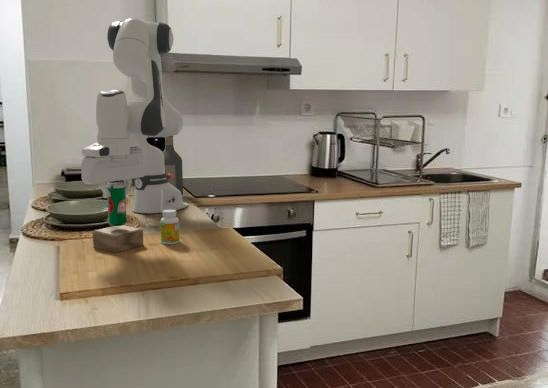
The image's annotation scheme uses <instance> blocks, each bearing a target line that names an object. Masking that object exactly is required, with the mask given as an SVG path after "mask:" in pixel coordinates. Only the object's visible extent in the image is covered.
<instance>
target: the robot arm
mask: <svg viewBox="0 0 548 388" xmlns="http://www.w3.org/2000/svg"><path fill="white" fill-rule="evenodd" d="M106 40H107V43H108V47H109V48H110V49H111V51H112V59H113V63H114V66H115V67H116V68H117V70H118V71H119V72H120V73H122V74H123V75H124V76H126V77H129V78H130V84H131V85H130V87H131V88H130V89H131V91H132V93H133V94H134V95H135V96H136V97H137V98H139V99H141V100H143V101H137V102H136V101H133V102H132V101H127V95H126V93H125V91H123V90H121V89H106V90H102V91H100V92H98V93H97V96H96V104H95V105H96V106H95V119H96V120H95V122H96V126H97V131H98V132H97V136H96V138H97V141H96V142H94V143H92V144H90V145H88V146H86V147H84V148H82V150H81V155H82V156H83V158H82V160H81V168H80V171H81V175H80V176H81V180H82V182H83V183H84V184H85V185H98V187H99V189H100V191H102V198H104V199H108V198H110V197H111V192H110V191H108V189H107V187H108V184H109V183H114V182H118V181H123V182H122V183H124V186H125V189H126V196H127V195H129V194H130V188H131V185H132V183H133V181H134V187H135V189H134V199H133V206H132V209H131V211H132V212H134V213H138V214H163V210H169V209H172V210H176V211H178V210H181V209H186V208H188V207H189V203H187V202H185V201H183V195H182V194H181V192H180V191H179V190H178V189H177V188H175V187H174V186H173V185H171V184H170V183H169V181H168V179H169V178H170V179H172V178H173V176H172V174H169V173H168V174H166V173H165V164H164V154H163V152H164V151H162V150H161V149H160V148H158V147H156V146H154V145H151V144H150V143H148V141H147V139H148V138H165V137H169V136H173V137H174V136H177V135H179V133H180V132H182V130H183V126H184V119H183V116H182V114H181V113H180V111H179V110H178V109H176V108H175V107H173V106H172V105H171V103H170V102H169V100H168V99H167V97H166V94H165V92H164V86H163V74H162V73H163V71H162V70H163V67H162V59H161V57H163V56H164V55H167V54H168V53H170V51H171V50H172V48H173V46H174V34H173V31H172V28H171V27H170V25H169V24H168V23H164V22H155V21H154V22H153V21H148V20H142V19H139V18H127V19H125V20H124V21H121V20H119V21H114V22H111V24H109V26H108V28H107V33H106ZM132 180H133V181H132Z"/></svg>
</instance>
